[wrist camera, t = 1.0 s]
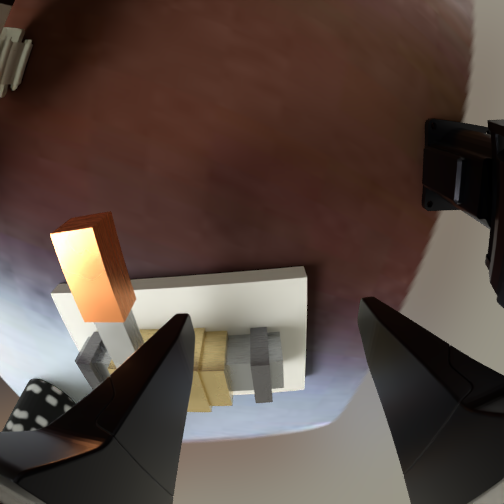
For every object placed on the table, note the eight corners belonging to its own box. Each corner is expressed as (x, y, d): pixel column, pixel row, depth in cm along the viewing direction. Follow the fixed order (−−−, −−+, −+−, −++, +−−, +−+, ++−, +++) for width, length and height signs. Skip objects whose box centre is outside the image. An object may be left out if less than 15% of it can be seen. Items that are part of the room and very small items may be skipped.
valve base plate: (303, 266, 21) (307, 277, 20) (302, 377, 26) (304, 389, 25) (58, 283, 22) (50, 293, 20) (106, 379, 27) (102, 390, 26)
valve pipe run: (279, 322, 21) (284, 366, 17) (281, 366, 23) (285, 408, 20) (84, 328, 22) (63, 364, 18) (104, 367, 24) (89, 403, 20)
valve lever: (186, 405, 19) (181, 437, 16) (157, 404, 19) (150, 435, 17) (119, 204, 13) (92, 227, 10) (81, 210, 13) (50, 234, 10)
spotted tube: (73, 423, 33) (37, 533, 15) (26, 393, 30) (-21, 498, 12) (85, 405, 30) (41, 538, 12) (31, 369, 27) (-30, 495, 10)
